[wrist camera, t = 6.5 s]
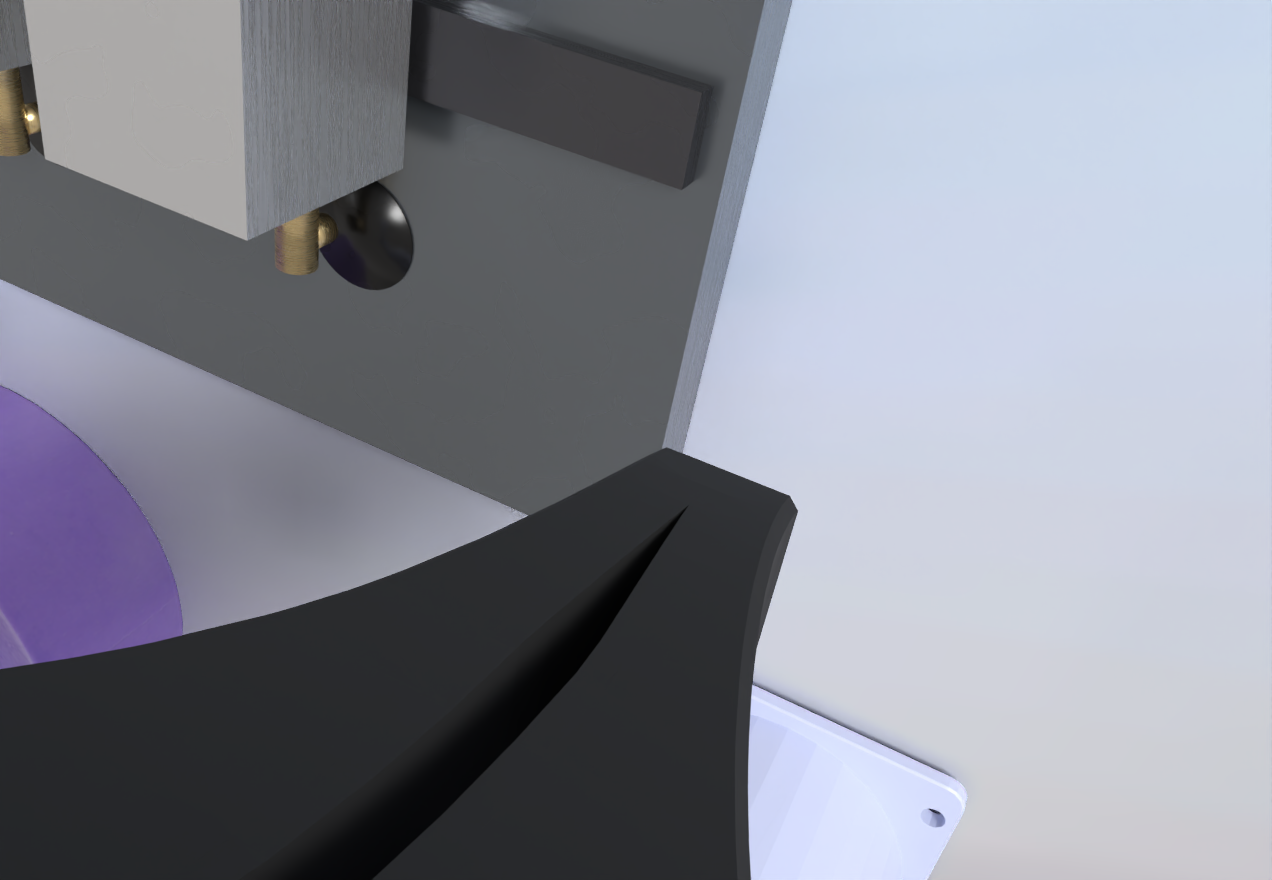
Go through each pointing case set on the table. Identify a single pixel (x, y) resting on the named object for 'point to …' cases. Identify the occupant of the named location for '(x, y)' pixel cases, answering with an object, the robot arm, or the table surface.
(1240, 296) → the table surface
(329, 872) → the robot arm
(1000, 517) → the table surface
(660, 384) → the bolt plate
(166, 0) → the sliding block
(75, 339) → the table surface
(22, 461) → the tape roll
